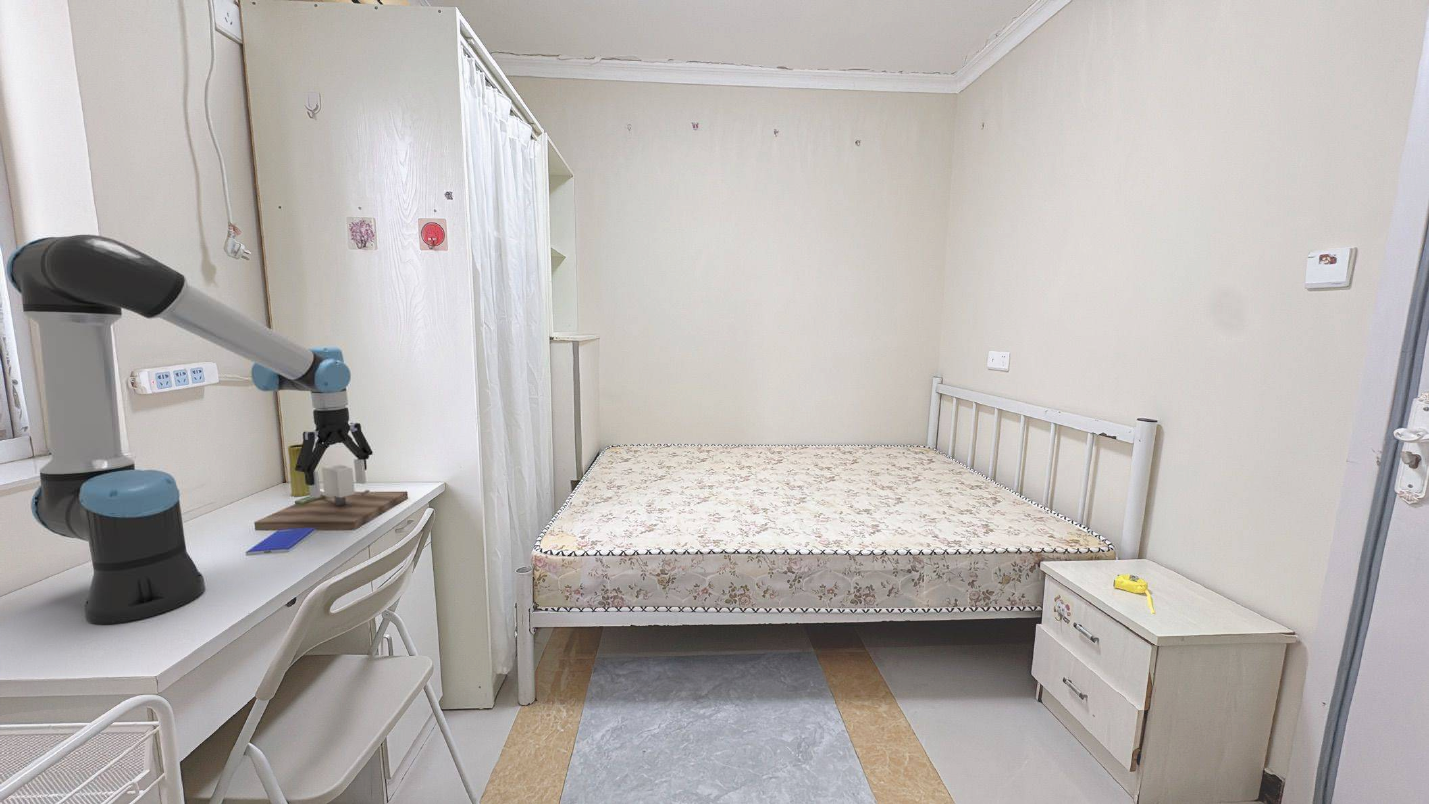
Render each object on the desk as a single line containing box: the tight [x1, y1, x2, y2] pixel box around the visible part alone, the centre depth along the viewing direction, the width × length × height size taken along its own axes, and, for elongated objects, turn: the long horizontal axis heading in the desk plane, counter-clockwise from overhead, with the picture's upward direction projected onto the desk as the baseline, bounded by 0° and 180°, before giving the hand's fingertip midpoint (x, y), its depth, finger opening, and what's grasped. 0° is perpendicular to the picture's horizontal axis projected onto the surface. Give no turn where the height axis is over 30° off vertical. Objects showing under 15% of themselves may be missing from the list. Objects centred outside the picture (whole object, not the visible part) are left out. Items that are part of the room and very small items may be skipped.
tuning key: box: [320, 463, 356, 506], centre depth 148 cm, size 16×4×10 cm, turn 59°
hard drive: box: [245, 528, 317, 556], centre depth 128 cm, size 2×8×12 cm
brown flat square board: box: [253, 489, 409, 531], centre depth 147 cm, size 24×24×3 cm
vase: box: [287, 443, 310, 497], centre depth 163 cm, size 6×6×14 cm
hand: (339, 489), depth 147 cm, fingers open, 12 cm apart
